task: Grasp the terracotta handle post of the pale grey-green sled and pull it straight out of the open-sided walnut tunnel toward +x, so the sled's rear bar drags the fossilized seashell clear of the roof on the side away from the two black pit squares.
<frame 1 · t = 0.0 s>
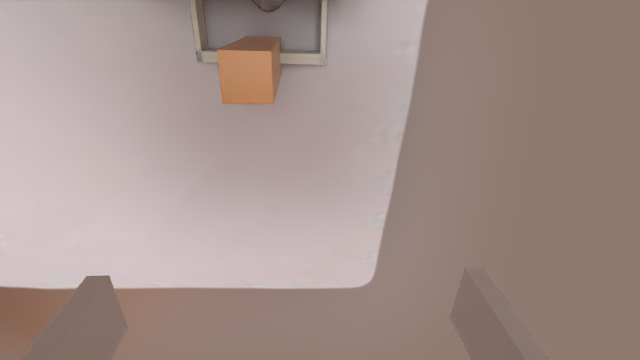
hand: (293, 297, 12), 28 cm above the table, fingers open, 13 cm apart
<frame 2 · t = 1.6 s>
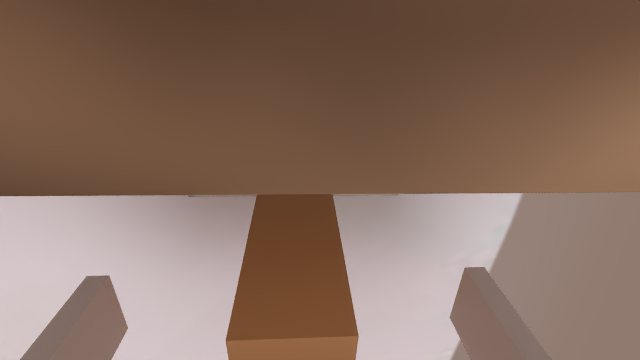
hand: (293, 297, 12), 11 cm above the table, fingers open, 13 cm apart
sled: (293, 50, 12), point 7 cm above the table, slide at 0.0 cm
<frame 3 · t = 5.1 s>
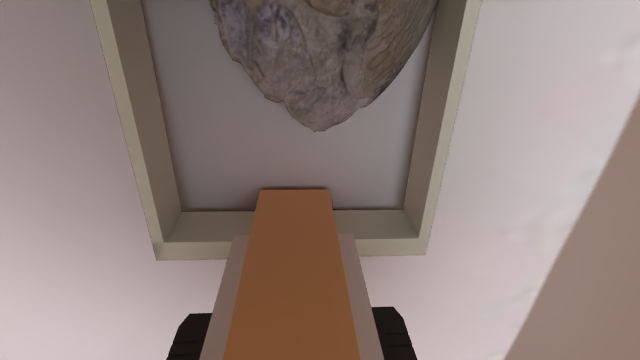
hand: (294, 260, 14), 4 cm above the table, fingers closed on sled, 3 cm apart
sled: (290, 87, 7), point 7 cm above the table, slide at 7.7 cm, touching fossilized seashell, gripper
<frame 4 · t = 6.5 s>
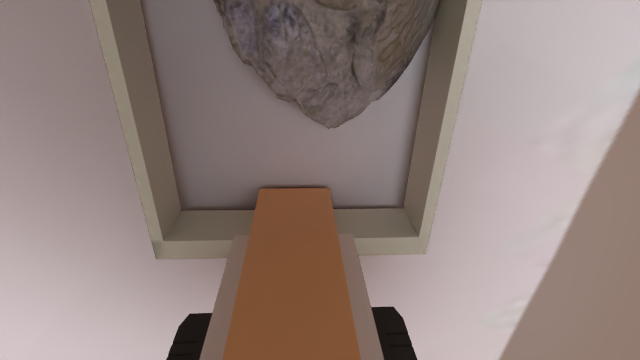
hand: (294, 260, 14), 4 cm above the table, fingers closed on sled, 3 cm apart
sled: (290, 84, 7), point 7 cm above the table, slide at 13.3 cm, touching gripper
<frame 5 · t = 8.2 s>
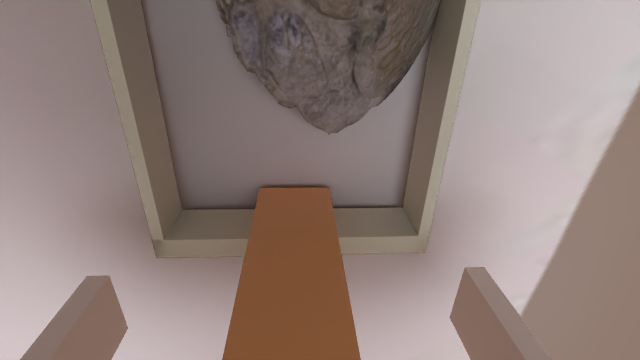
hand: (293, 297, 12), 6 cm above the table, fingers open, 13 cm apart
sled: (290, 84, 7), point 7 cm above the table, slide at 13.3 cm
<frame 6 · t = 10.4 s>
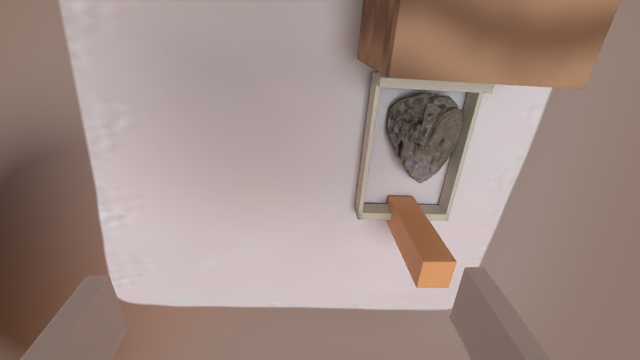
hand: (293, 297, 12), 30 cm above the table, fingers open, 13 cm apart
sled: (428, 176, 36), point 7 cm above the table, slide at 13.3 cm
tunnel: (434, 19, 36), on the table
fossilized seashell: (417, 131, 42), on the table
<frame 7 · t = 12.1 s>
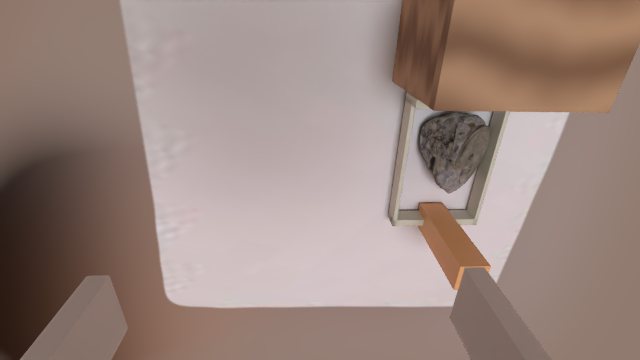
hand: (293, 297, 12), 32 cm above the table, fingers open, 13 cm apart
sled: (461, 187, 39), point 7 cm above the table, slide at 13.3 cm
tunnel: (464, 43, 39), on the table
fossilized seashell: (446, 146, 45), on the table
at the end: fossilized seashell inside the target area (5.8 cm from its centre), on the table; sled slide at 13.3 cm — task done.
